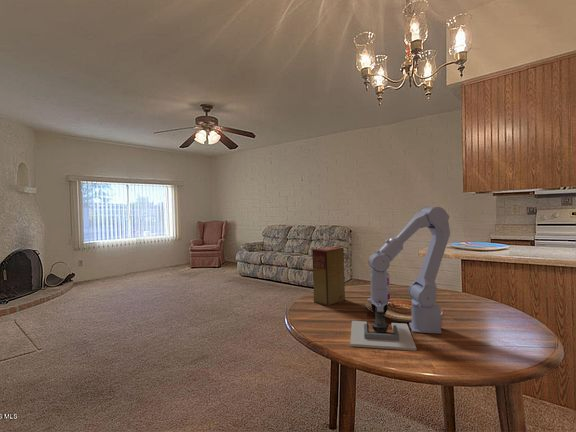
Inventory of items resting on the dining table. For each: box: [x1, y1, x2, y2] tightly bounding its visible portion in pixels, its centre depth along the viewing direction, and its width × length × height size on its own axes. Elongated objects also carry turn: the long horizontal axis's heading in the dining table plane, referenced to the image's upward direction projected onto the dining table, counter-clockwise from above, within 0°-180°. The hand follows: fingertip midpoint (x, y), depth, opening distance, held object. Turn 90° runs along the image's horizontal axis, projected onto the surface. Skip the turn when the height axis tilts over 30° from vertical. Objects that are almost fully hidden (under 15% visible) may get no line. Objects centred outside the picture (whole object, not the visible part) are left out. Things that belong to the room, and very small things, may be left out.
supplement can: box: [369, 270, 391, 304], centre depth 141 cm, size 8×8×15 cm
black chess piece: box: [370, 301, 390, 334], centre depth 109 cm, size 6×6×12 cm
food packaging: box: [311, 246, 346, 307], centre depth 148 cm, size 13×9×25 cm
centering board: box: [349, 320, 417, 352], centre depth 108 cm, size 20×20×2 cm
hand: (379, 324), depth 113 cm, fingers closed
